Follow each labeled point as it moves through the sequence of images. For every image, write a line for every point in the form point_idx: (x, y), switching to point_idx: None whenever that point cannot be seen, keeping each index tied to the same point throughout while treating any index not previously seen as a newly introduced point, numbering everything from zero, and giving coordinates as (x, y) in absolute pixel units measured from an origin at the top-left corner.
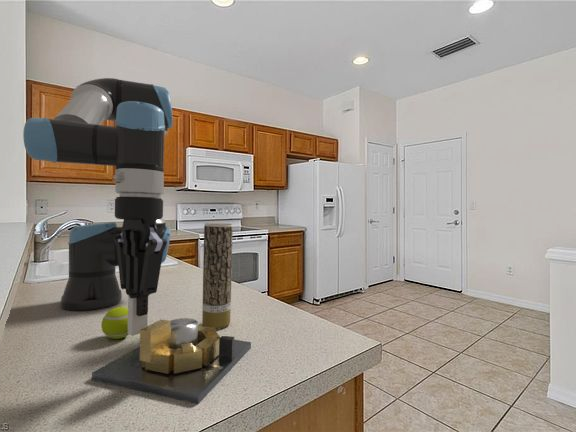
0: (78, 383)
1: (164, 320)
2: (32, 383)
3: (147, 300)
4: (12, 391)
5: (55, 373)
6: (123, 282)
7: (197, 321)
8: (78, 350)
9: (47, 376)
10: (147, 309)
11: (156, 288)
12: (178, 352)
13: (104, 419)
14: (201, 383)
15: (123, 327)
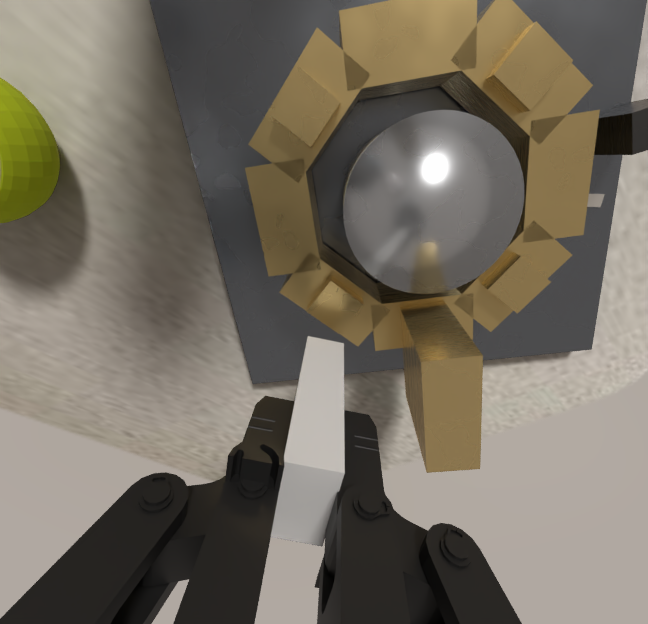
0: (245, 392)
1: (446, 363)
2: (161, 428)
3: (380, 479)
4: (165, 455)
5: (152, 388)
6: (159, 607)
7: (497, 130)
8: (46, 288)
9: (153, 402)
10: (376, 437)
11: (489, 574)
12: (490, 308)
13: (414, 442)
14: (572, 302)
15: (43, 178)
